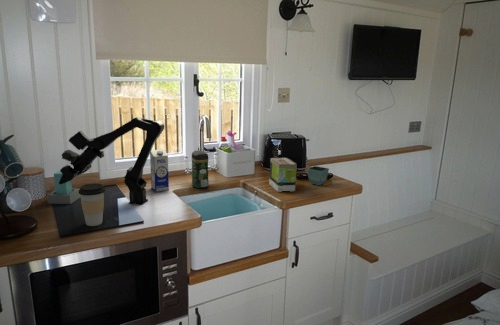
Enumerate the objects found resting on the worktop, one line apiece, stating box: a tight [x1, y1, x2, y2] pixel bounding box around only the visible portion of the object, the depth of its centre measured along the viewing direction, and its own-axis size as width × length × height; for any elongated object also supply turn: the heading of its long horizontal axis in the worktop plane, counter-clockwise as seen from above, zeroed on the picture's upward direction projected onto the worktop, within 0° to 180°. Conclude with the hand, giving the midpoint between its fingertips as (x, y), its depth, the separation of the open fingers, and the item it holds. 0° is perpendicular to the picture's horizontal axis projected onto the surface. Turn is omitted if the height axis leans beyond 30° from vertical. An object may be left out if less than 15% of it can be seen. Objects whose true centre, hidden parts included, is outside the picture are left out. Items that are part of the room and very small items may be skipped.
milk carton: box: [149, 148, 170, 193], centre depth 186 cm, size 7×7×20 cm
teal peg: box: [53, 170, 73, 194], centre depth 168 cm, size 5×5×13 cm
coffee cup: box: [79, 183, 106, 227], centre depth 144 cm, size 9×9×15 cm
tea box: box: [268, 157, 298, 193], centre depth 196 cm, size 15×10×15 cm
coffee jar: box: [191, 149, 209, 189], centre depth 194 cm, size 10×8×19 cm
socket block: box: [46, 187, 81, 205], centre depth 169 cm, size 10×10×4 cm
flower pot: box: [307, 165, 330, 186], centre depth 204 cm, size 9×9×9 cm
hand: (64, 180), depth 168 cm, fingers open, 9 cm apart
